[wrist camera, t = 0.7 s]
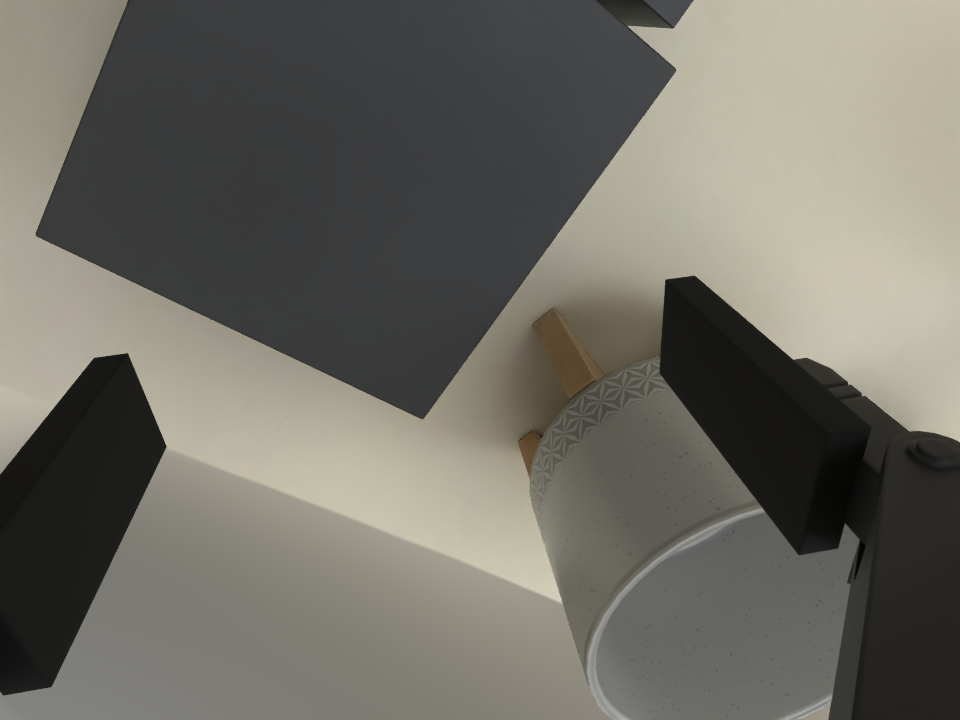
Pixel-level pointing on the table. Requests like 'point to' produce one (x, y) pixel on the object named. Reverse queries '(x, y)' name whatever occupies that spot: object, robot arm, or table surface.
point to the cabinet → (348, 167)
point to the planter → (674, 557)
